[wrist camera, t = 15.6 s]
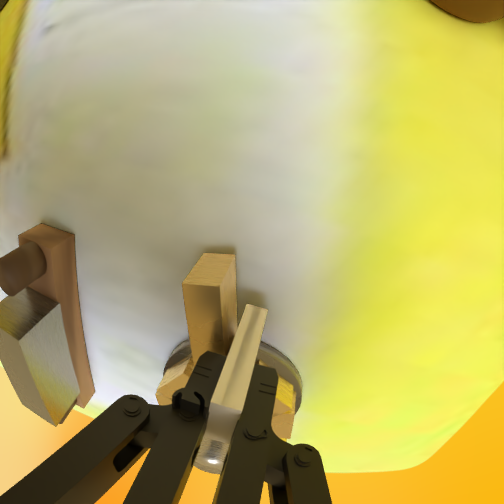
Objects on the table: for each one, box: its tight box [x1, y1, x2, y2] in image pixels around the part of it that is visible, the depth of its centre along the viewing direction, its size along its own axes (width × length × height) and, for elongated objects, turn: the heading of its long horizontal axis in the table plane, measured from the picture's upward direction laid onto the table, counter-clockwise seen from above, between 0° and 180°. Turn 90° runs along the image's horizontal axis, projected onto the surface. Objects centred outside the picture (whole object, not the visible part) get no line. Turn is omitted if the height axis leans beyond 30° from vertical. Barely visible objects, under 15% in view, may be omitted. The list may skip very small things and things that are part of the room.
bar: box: [0, 286, 80, 427], centre depth 17 cm, size 10×4×4 cm, turn 167°
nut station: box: [163, 339, 302, 474], centre depth 17 cm, size 10×10×7 cm
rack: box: [0, 223, 95, 424], centre depth 18 cm, size 4×17×6 cm, turn 167°
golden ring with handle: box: [155, 253, 296, 442], centre depth 16 cm, size 9×16×3 cm, turn 0°
